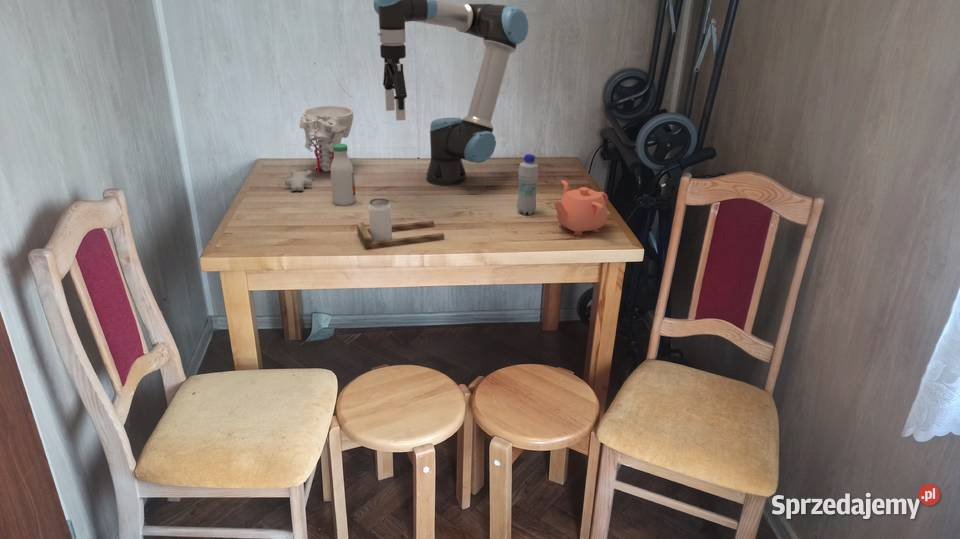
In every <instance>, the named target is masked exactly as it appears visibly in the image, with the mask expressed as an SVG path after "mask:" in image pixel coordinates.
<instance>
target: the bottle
mask: <svg viewBox="0 0 960 539" xmlns="http://www.w3.org/2000/svg"><path fill="white" fill-rule="evenodd" d="M535 158H536V157H535V155H534V154H531V153H529V154H528V153H527V154H525V155H524V158H523V161H522V162H520V163H519V167H518V171H517V173H518V177H517V179H518V191H517V192H518V194H517V195H518V196H517V202H516V203H517V204H516V206H517V207H516V209H517V212H518V213H519V214H523V215H526V214H528V216H529V215H531V214H534V213H535V212H536V210H537V209H536V207H537V189H538V188H537V186H538V184H537V182H538V179H539V175H540V174H539V164H538V163H537V162H535Z"/></svg>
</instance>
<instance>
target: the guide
mask: <svg viewBox="0 0 960 539" xmlns="http://www.w3.org/2000/svg"><path fill="white" fill-rule="evenodd" d="M433 227H435V221H434V220H426V221H419V222H410V223H399V224H391V228H392V233H393V232H400V231H401V232H402V231H408V230H411V231H412V230H417V229H425V228H433ZM356 230H357V236H358V238H359V239H360V242H361V245H363V247H364V249H366V250H371V249H380V248H387V247H395V246H403V245H412V244H418V243H426V242H435V241H441V240H445V234H444V233H443V232H440V233H432V234H431V233H430V234H424V235H415V236H407V237H400V238H391V239H390V240H382V241H374V242H373V241H372V237H371V235H370V227H368V228H367V227H366V225H365V223H364V222H357V223H356Z"/></svg>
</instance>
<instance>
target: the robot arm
mask: <svg viewBox="0 0 960 539" xmlns="http://www.w3.org/2000/svg"><path fill="white" fill-rule="evenodd" d="M373 9H374V11H375V12H376V14H377V15H378V24H379V25H378V26H379V31H378V32H377V36H378V37H379V42H380V43H381V44H380V45H379V47H380V48H379V49H380V58H382V59H383V62H384V65H383V66H384V68H383V70H384V71H383V81H382V85H383V88H384V89H385V90H384V96H385V111H386V112H390V111H395V121H406V101H405V100H406V98H408V95H407V89H406V88H407V87H406V81H405V74H404V64H403V63H401V62H400V59H401V60H403V59H404V58H406V57H407V55H406V51H407V50H406V48H407V47H406V45H405V43H406V23H407V22H415V23H416V22H418V23H423V24H430V25H433V26H440V27H446V28H447V27H448V28H454V29H455V30H456V31H458V32H459V33H465V34H469V35H471V36H474V37H477V38H481V39H483V41H482V42H483V44H484V45H485V50H484V54H483V58H482V61H481V65H480V68H479V71H478V76H477V80H476V83H475V87H474V89H473V95H472V98H471V101H470V105H469V110H468V112H467V115H466V116H465V117H463V118H461V117H442V118H436V119H434V120H432V121H431V122H430V128H429V129H430V130H429V139H430V140H429V141H430V161H429V164H428V167H427V171H426V175H425V176H426V181H427V182H428V183H430V184H433V185H438V186H456V185H459V184H460V185H461V184H463V183H465V182H466V181H467V172H466V169H465V167H464V166H465V165H464V163H463V160H465V161H467V162H471V163H475V164H480V163H484V162H486V161H487V160H489V159H490V158H491V156H492V155H493V153H494V152H495V150H496V145H497V141H496V136H495V135H494V133H493V131H494V126H493V125H492V124H493V123H492V121H493V120H492V119H493V116H494V112H495V108H496V104H497V100H498V97H499V95H500V90H501V86H502V83H503V79H504V75H505V72H506V68H507V64H508V61H509V58H510V55H511V54H513V53H514V52H516V50H517V45H519V44H522V43H523V42H524V41H525V40H526V38H527V37H528V36H527V35H528V32H529V20H528V18H527V14H526V13H525V11H524V10H523V9H521V8H520V7H517V6H514V5H511V4H510V5H509V4H508V5H507V4H506V5H505V4H492V3H467V2H462V3H461V2H460V3H459V4H456V3H450V2H446V1H440V0H373Z"/></svg>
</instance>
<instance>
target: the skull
mask: <svg viewBox="0 0 960 539" xmlns="http://www.w3.org/2000/svg"><path fill="white" fill-rule="evenodd" d="M353 120H354V110H353V108H350V107H347V106H340V105H321V106H320V105H319V106H314V107H310V108H307V109H304V110H303V115H301V116H300V121H299V128H300V129H303V130H304V134H305V145H304V147H305V148H306V149H307V150H309V151H310V152H314V156H315V157H316V166H315V167H314V168H313V169H314V170H317V171H316V172H317V174H320V171H321V170H322V171H323V172H324V173H329V171H331V164H332V161H333V159H334V152H333V151H334V150H333V145H335V144H342V143H341V142H342V139H343V138H344V139H347V138H348V137H349V135H350V132H351V129H352V125H353V122H354V121H353ZM314 141H315V142H314ZM312 147H314V150H313V149H312ZM316 168H317V169H316Z"/></svg>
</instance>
